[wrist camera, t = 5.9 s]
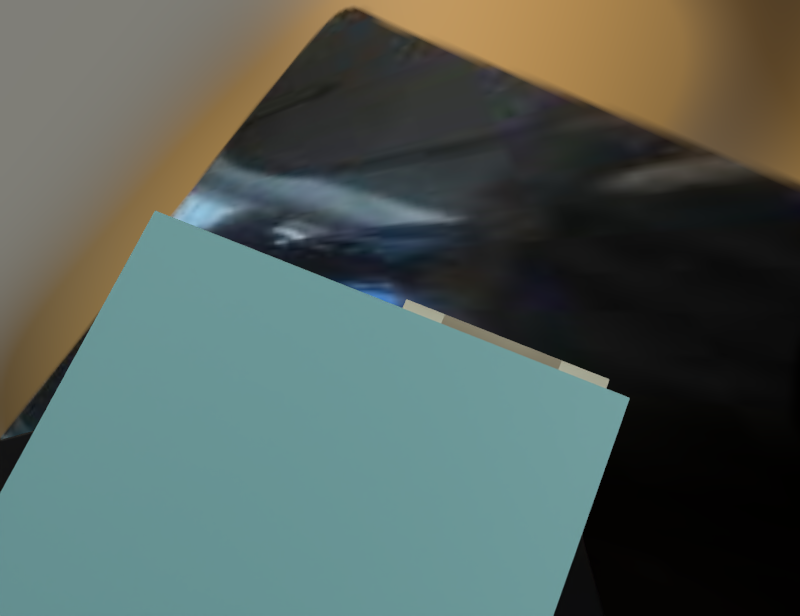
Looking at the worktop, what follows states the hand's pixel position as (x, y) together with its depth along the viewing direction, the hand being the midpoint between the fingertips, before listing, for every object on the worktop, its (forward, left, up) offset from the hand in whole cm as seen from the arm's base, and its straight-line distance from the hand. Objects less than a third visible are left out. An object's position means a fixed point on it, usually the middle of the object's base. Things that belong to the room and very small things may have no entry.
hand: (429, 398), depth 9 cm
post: (-1, 0, -7) cm, 7 cm away
